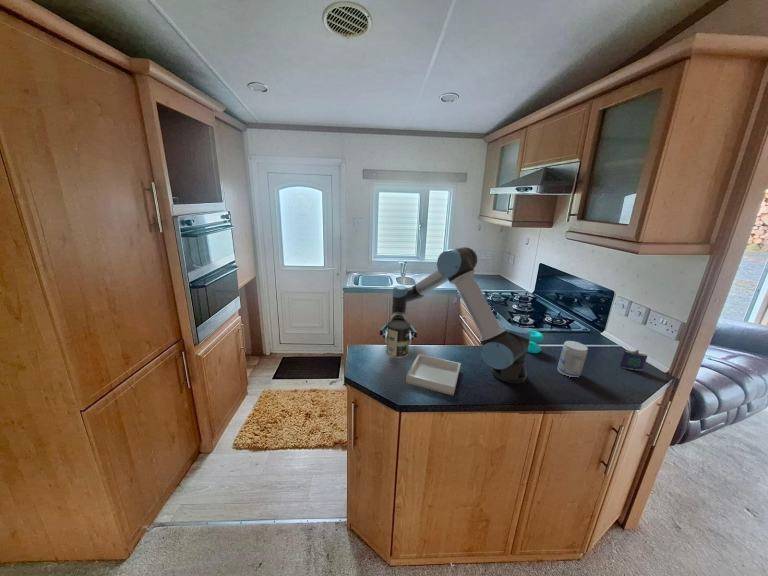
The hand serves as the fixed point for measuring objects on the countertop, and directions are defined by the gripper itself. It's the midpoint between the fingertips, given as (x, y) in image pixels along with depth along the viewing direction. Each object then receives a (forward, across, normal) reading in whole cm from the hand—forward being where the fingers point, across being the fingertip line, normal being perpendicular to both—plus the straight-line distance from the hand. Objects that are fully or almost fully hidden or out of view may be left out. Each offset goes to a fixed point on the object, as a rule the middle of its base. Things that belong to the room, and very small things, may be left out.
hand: (398, 340), depth 128 cm
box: (+2, -17, -15) cm, 23 cm away
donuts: (-31, -73, -16) cm, 81 cm away
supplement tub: (-9, -82, -16) cm, 84 cm away
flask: (-17, -116, -16) cm, 119 cm away
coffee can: (-4, 0, -8) cm, 9 cm away
